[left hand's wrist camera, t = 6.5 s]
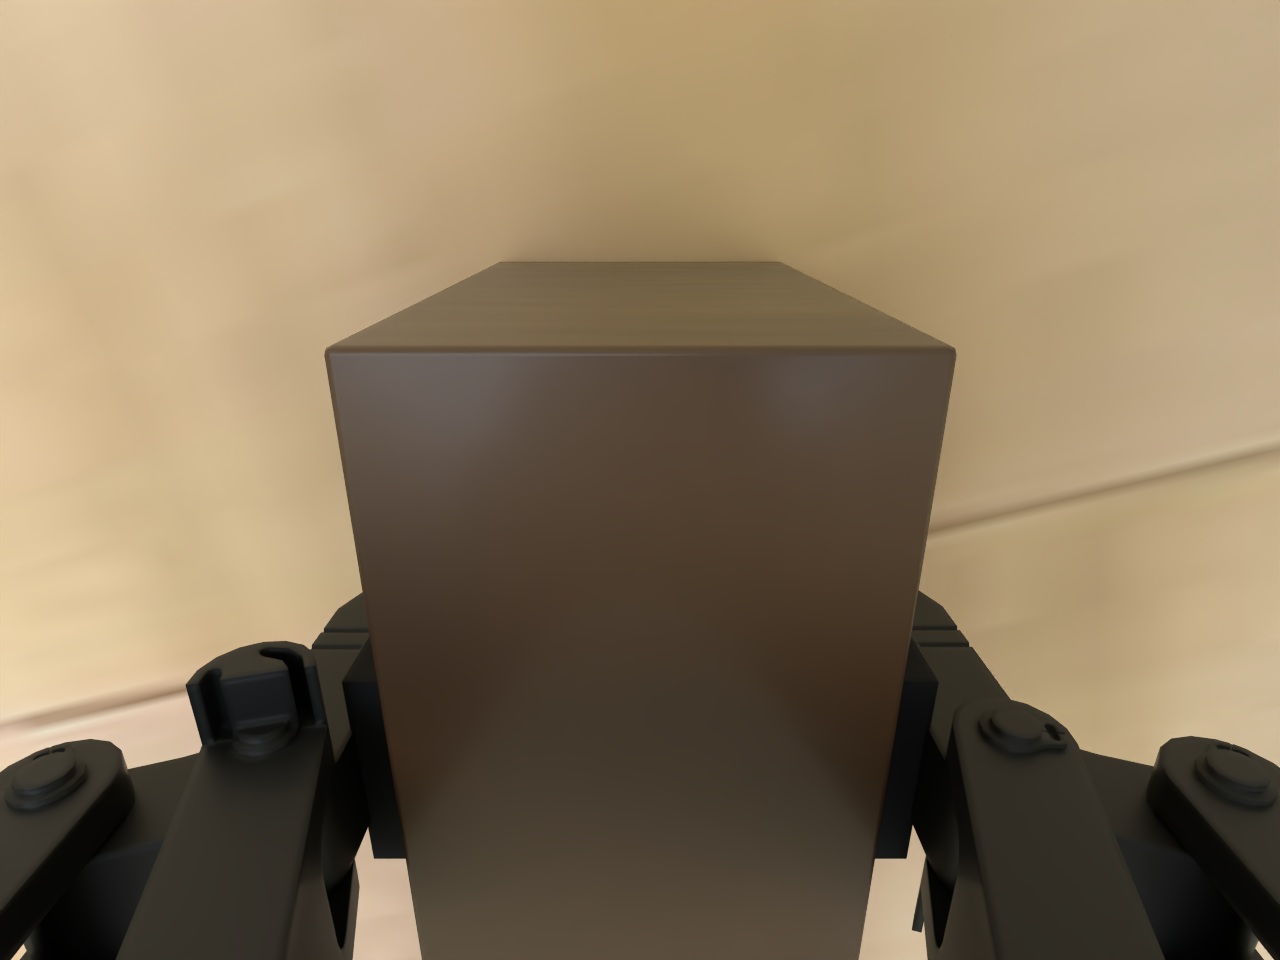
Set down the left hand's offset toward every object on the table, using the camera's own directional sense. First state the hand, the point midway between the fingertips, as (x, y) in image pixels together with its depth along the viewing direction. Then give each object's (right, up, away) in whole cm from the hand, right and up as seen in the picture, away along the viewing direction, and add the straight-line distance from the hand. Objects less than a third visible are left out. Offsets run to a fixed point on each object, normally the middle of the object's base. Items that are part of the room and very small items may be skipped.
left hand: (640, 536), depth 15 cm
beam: (0, -27, +11) cm, 29 cm away
